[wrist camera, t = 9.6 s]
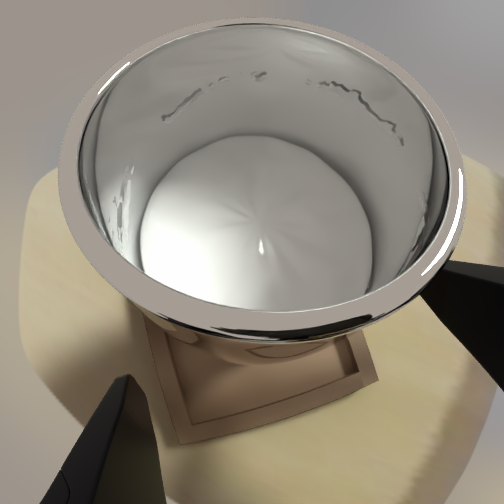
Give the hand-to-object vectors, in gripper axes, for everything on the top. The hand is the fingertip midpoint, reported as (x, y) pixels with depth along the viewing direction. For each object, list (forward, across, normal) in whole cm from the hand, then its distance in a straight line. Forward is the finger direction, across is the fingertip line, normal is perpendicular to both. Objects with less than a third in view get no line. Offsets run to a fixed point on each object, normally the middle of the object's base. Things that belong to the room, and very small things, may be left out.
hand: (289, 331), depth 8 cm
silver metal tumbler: (+9, 0, +5) cm, 10 cm away
